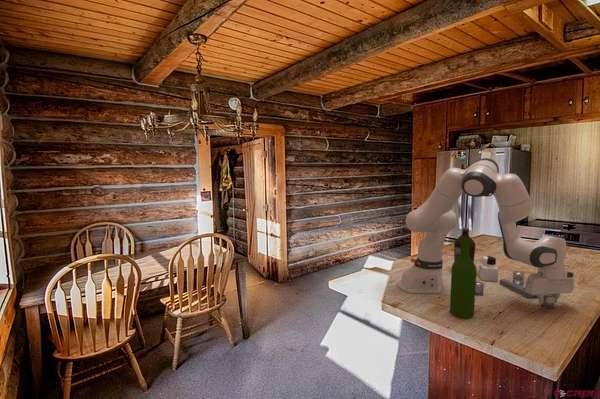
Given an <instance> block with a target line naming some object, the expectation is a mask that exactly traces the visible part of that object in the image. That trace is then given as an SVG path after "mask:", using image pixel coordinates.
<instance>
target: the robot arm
mask: <svg viewBox="0 0 600 399" xmlns="http://www.w3.org/2000/svg"><path fill="white" fill-rule="evenodd" d="M499 168H500V167H499V165H498V163H497V162H496V161H495V160H494V159H492V158H490V157H489V158H488V157H483V158H480V159H478V160H475V161H474V162H472V163H469V164H468V165H467V166H466V168H465V169H462V168H459V167H450V168H448V169H447V170H446V171H445V172H444V173H443V174H442V176H440V178H439V180H437V181H438V182H437V183H436V184H435V187H434V189H433V191H432V192H431V194H430V195H429V197H428V199H426V201H425V202H424V201H423V203H422V204H420V206H419V207H417V208H416V209H414V210H412V211H409V212H408V213H407V215H406V218H405V225H406V227H407V229H409V231H411V232H414V233H426V235H425V236H424V237H423V238H422V239H421V240H419V242H418V245H417V247H418V248H417V249H418V250H417V258H414V257H411V258H410V262H411V263H414V264H413V265H412V266H411V267H409V268H407V270H405V271H403V273H402V274H401V279H399V280H397V281H396V285H397V287H398V288H399V289H400V290H402V291H404V292H405V293H408V294H441V293H442V291H444V289H445V286H444V282H443V276H442V275H443V272H442V270H443V266H444V265H443V248H444V242H445V241H446V238H447V236H448V235H449V233H450V232H451V231H452V229H454V228H455V227H456V225H457V223H458V222H457V221H458V218H457V215H456V213H455V212H454V211H453V208H455V205H456V204H457V202H458V201H459V199H460V197H461V196H462V194H463V193H464V194H465V195H467V196H468V197H473V198H480V197H481V198H482V197H491V196H494V198H495V200H496V203H497V207H498V210H499V211H498V212H497V219H498V224H499V228H500V233H501V237H502V241H503V242H502V248H503V253H504V256H506V258H508V259H509V260H512V261H515V262H516V261H517V262H519V263H523V264H524V265H527V266H531V267H535V268H537V272H531V273H530V274H529V275H528V276H527V277H528V279H527V282H526V286H525V291H526V293H528V294H530V295H537V297H538V298H537V299H538V303H539V304H540V305H541V304H545V300H543V297H544V295H547V294H554V296H555V304H558V300H559V298H560V297H561V295H562V294H570V293H572V292H573V291H574V287H575V277H576V273H575V272H574V271H572V270H568V269H566V267H565V266H566V265H565V260H566V257H567V242H566V239H565V238H564V237H562V236H559V235H555V234H550V233H543V234H542V235H541V237H540V238H539V239H537V240H535V241H533V242H532V241H530V240H527V239H526V240H525V239H524V238H522V237H521V236H520V235H519V232H518V228H517V224H516V223H517V222H519V221H521V220H524V219H526V218H527V217H528V216H530V215H531V213H532V211H533V204H532V201H531V197H530V194H529V191H527V187H526V186H525V184H524V182H523V181H522V179H521V178H520V177H519V176H518V175H517V174H515V173H503V174H501V173H500V169H499Z"/></svg>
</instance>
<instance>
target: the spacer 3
mask: <svg viewBox="0 0 600 399" xmlns="http://www.w3.org/2000/svg"><path fill="white" fill-rule="evenodd" d="M543 300H545V304H540V306H541V307H542V308H544V309H547V310H554V309H555V305H556V303H555V296H554V295H551V294H547V295H544V297H543Z"/></svg>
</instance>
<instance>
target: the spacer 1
mask: <svg viewBox="0 0 600 399" xmlns="http://www.w3.org/2000/svg"><path fill="white" fill-rule="evenodd" d="M484 289H485V283H484V282H483V281H477V280H476V289H475V295H478V296H483V295H484Z"/></svg>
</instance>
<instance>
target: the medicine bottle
mask: <svg viewBox="0 0 600 399" xmlns="http://www.w3.org/2000/svg"><path fill="white" fill-rule="evenodd" d="M481 260H482V263H479V267H478V268H479V269H478V276H479V278H480V279H481V280H482V282H483V281H484V282H496V283H498V282H499V281H498V280H499V268H498V267H497V266H496V265H497V264H496V263H497V259H496V258H495V257H494V256H491V255H484V256H482V259H481Z"/></svg>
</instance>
